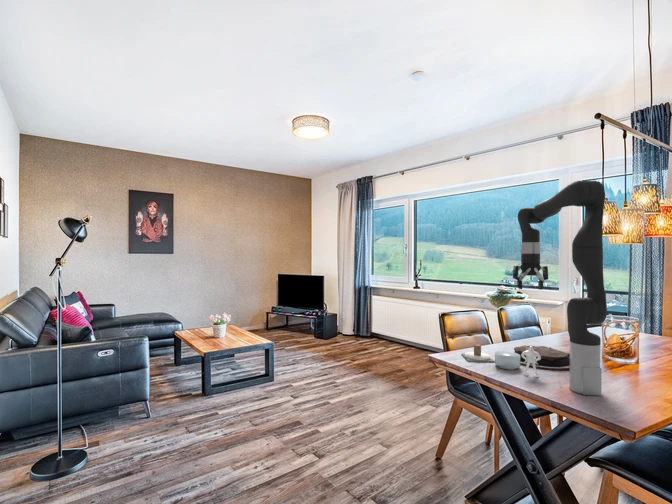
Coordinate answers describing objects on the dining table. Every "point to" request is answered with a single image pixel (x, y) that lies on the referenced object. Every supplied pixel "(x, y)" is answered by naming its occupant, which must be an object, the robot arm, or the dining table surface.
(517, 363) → the pale green rounded block
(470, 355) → the cover
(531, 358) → the figurine
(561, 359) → the chocolate cake
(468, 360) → the mat
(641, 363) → the dining table surface
